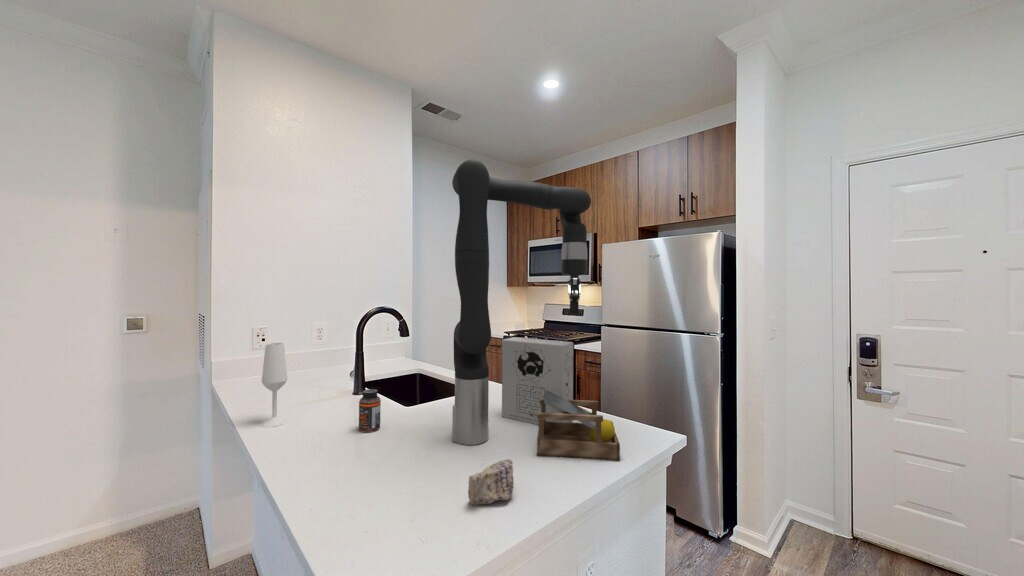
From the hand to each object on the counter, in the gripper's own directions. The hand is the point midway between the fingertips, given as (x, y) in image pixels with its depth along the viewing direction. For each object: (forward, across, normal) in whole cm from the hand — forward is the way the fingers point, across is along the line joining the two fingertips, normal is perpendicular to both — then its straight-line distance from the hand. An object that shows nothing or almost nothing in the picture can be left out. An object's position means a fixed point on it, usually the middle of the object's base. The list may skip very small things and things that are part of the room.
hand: (573, 313), depth 117 cm
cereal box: (+34, +6, +11) cm, 37 cm away
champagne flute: (+34, -8, +90) cm, 97 cm away
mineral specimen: (+34, -40, +17) cm, 55 cm away
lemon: (+33, -14, -4) cm, 36 cm away
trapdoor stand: (+34, -13, 0) cm, 37 cm away
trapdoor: (+25, -13, +2) cm, 29 cm away
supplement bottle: (+34, -9, +59) cm, 69 cm away
